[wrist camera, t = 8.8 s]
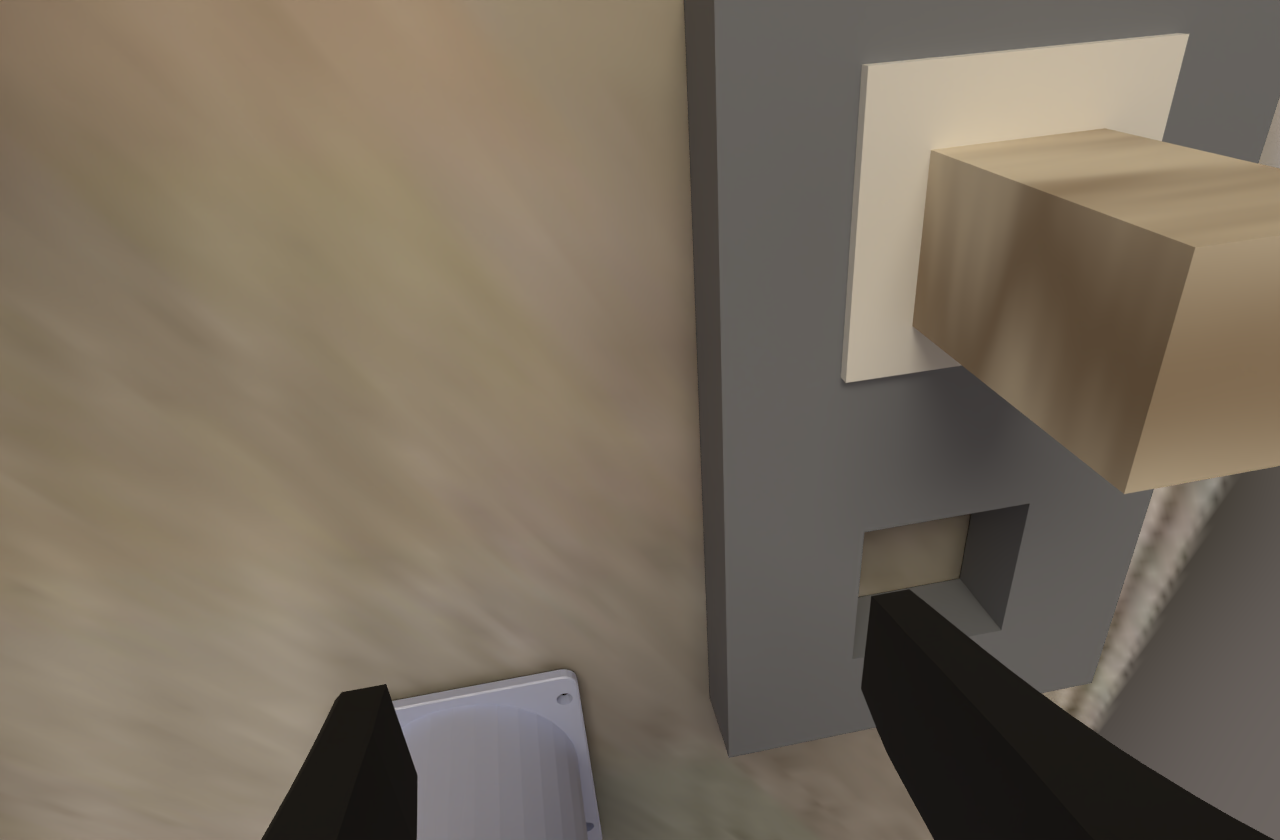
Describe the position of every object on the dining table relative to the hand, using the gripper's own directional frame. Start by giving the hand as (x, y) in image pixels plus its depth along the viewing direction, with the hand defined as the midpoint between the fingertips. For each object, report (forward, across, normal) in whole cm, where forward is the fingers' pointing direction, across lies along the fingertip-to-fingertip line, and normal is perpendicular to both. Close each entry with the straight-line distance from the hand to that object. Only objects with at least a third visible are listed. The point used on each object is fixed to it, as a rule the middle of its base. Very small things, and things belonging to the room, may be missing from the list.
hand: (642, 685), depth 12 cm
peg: (+8, -10, -4) cm, 13 cm away
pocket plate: (+10, -10, +2) cm, 15 cm away
